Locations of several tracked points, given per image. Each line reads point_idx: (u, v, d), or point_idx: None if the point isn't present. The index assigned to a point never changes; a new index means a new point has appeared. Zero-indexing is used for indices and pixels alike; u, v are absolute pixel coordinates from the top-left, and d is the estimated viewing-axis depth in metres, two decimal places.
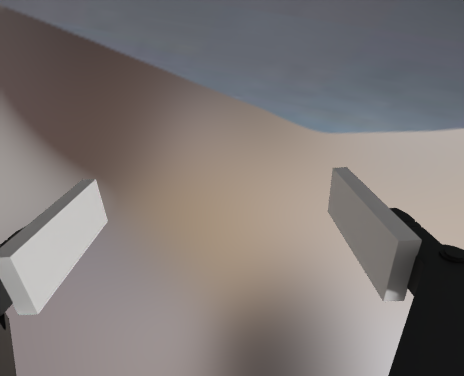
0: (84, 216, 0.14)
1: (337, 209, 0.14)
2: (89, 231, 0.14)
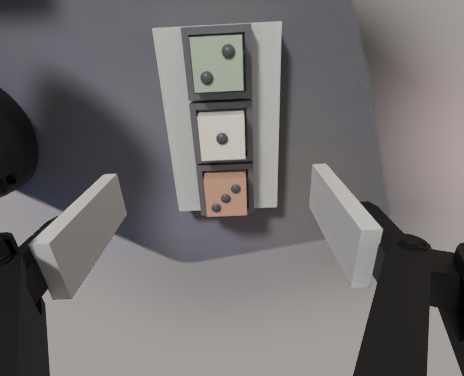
0: (108, 209, 0.15)
1: (316, 204, 0.15)
2: (111, 223, 0.15)
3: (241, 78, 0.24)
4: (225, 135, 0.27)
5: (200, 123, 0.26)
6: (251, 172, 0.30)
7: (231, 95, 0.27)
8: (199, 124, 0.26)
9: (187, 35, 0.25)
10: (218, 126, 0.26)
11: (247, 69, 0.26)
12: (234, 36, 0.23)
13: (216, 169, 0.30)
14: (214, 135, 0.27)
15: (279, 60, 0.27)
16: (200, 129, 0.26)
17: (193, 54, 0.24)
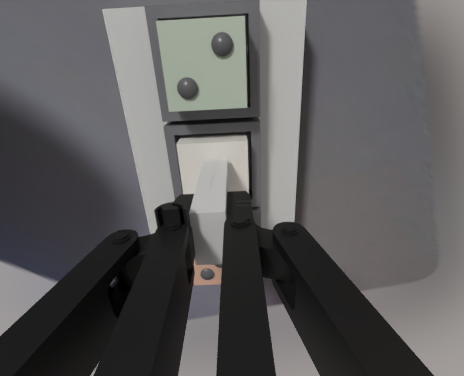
0: None
1: None
2: None
3: (244, 88, 0.15)
4: None
5: (181, 155, 0.17)
6: (257, 221, 0.21)
7: (228, 113, 0.17)
8: (180, 155, 0.17)
9: (156, 19, 0.15)
10: (208, 158, 0.18)
11: (252, 73, 0.16)
12: (231, 19, 0.14)
13: None
14: None
15: (301, 59, 0.18)
16: (182, 162, 0.18)
17: (164, 49, 0.14)
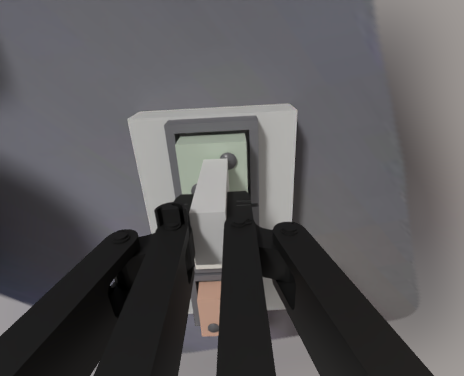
0: None
1: None
2: None
3: None
4: None
5: None
6: None
7: None
8: None
9: (173, 134, 0.19)
10: None
11: (252, 172, 0.20)
12: (235, 144, 0.17)
13: (213, 279, 0.24)
14: None
15: (293, 154, 0.21)
16: None
17: (181, 164, 0.18)
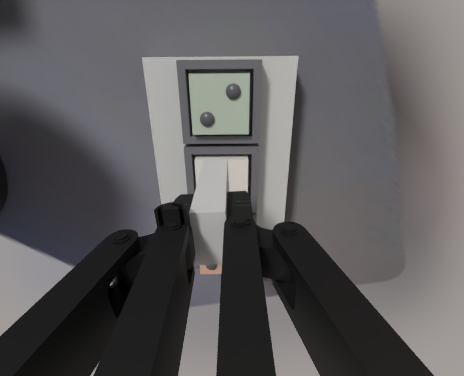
0: None
1: None
2: None
3: (247, 121, 0.21)
4: None
5: (197, 168, 0.23)
6: None
7: (235, 140, 0.23)
8: (196, 168, 0.23)
9: (184, 69, 0.20)
10: None
11: (255, 111, 0.22)
12: (240, 75, 0.20)
13: None
14: None
15: (292, 100, 0.23)
16: (197, 173, 0.23)
17: (192, 93, 0.20)
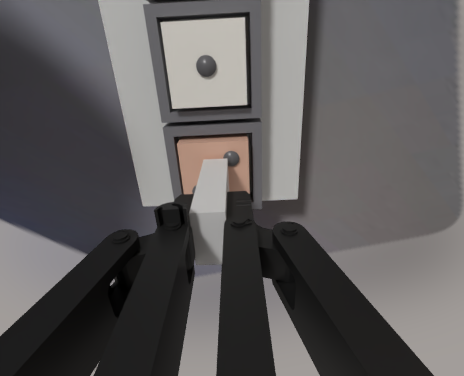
0: None
1: None
2: None
3: None
4: (212, 59, 0.15)
5: (167, 37, 0.15)
6: (258, 138, 0.18)
7: None
8: (165, 38, 0.15)
9: None
10: (199, 41, 0.15)
11: None
12: None
13: (198, 133, 0.18)
14: (192, 60, 0.15)
15: None
16: (167, 48, 0.15)
17: None
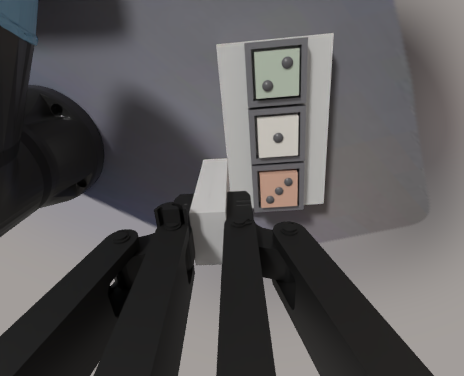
0: None
1: None
2: None
3: (297, 85, 0.28)
4: (281, 134, 0.30)
5: (259, 125, 0.30)
6: (302, 171, 0.33)
7: (287, 101, 0.30)
8: (259, 126, 0.30)
9: (250, 49, 0.28)
10: (275, 126, 0.30)
11: (302, 77, 0.29)
12: (292, 50, 0.27)
13: (270, 169, 0.33)
14: (271, 135, 0.31)
15: (330, 68, 0.30)
16: (259, 130, 0.30)
17: (257, 66, 0.28)
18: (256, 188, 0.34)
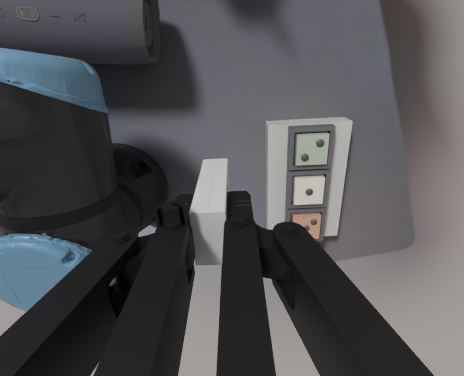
0: None
1: None
2: None
3: (326, 157, 0.40)
4: (311, 190, 0.42)
5: (296, 183, 0.41)
6: (324, 214, 0.44)
7: (317, 167, 0.41)
8: (295, 183, 0.41)
9: (293, 132, 0.39)
10: (307, 184, 0.41)
11: (329, 151, 0.40)
12: (324, 135, 0.38)
13: (300, 212, 0.44)
14: (304, 189, 0.42)
15: (348, 143, 0.41)
16: (296, 186, 0.41)
17: (298, 144, 0.39)
18: None
